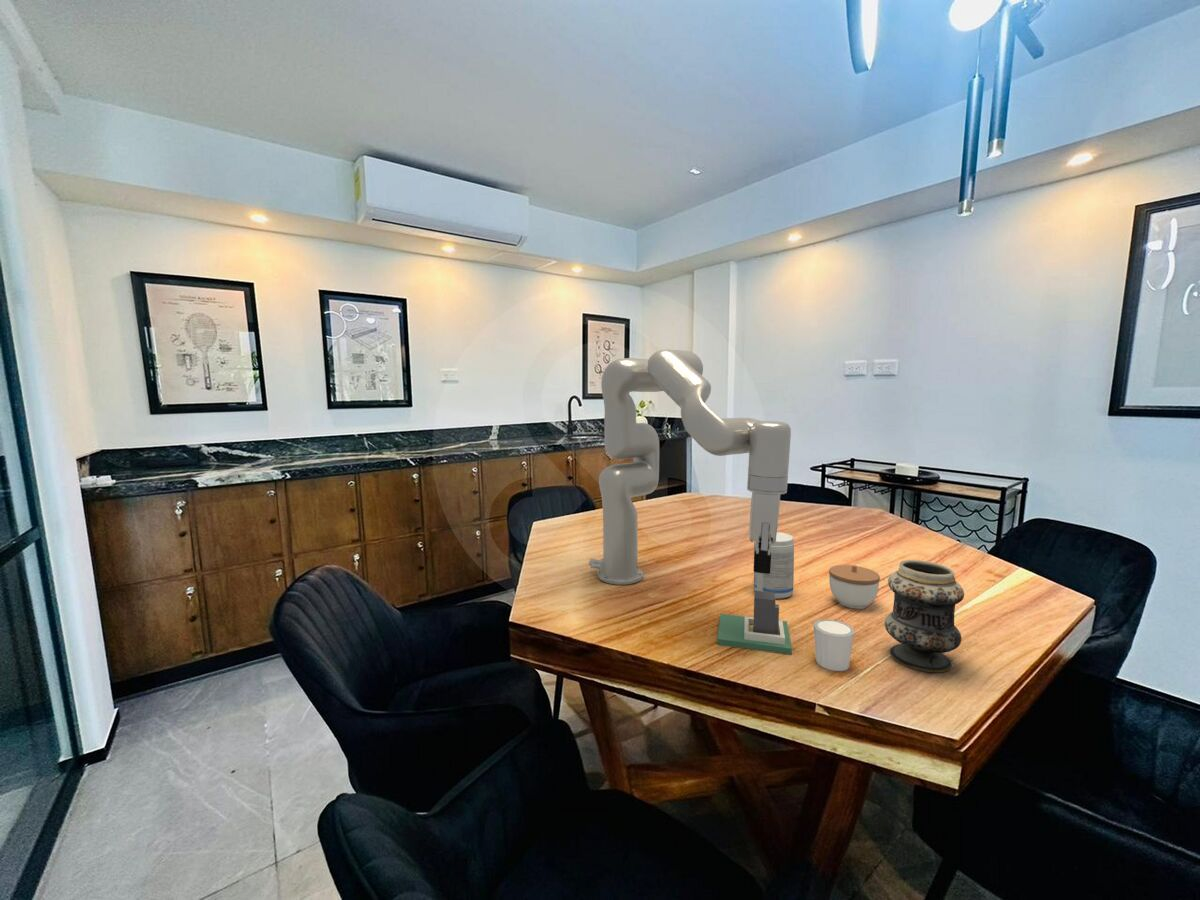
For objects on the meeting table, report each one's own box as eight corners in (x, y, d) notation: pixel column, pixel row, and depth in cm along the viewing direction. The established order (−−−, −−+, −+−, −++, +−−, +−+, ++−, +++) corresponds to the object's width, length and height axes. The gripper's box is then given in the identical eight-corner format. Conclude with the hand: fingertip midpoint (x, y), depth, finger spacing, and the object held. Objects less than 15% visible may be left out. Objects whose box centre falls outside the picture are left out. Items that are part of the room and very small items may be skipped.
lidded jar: (837, 591, 124) (839, 555, 123) (884, 603, 117) (886, 565, 116) (820, 603, 117) (822, 565, 116) (869, 617, 109) (871, 577, 108)
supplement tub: (801, 594, 122) (803, 537, 121) (777, 603, 117) (778, 543, 116) (768, 582, 130) (770, 528, 129) (745, 590, 125) (746, 534, 124)
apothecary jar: (969, 662, 90) (977, 568, 89) (943, 684, 84) (950, 583, 82) (899, 637, 100) (904, 552, 98) (870, 655, 93) (875, 564, 91)
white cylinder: (805, 654, 94) (806, 619, 93) (839, 652, 94) (840, 617, 94) (824, 674, 87) (826, 636, 86) (861, 671, 88) (862, 634, 87)
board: (717, 644, 98) (717, 632, 98) (720, 618, 109) (720, 607, 109) (791, 654, 94) (792, 641, 93) (786, 626, 105) (787, 615, 105)
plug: (753, 635, 99) (754, 597, 98) (753, 627, 102) (754, 590, 101) (778, 639, 97) (779, 600, 96) (777, 630, 101) (778, 593, 100)
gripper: (747, 475, 105) (742, 557, 107) (747, 489, 91) (742, 583, 93) (784, 478, 103) (778, 561, 105) (790, 492, 89) (783, 588, 91)
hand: (761, 571), depth 99 cm, fingers closed
